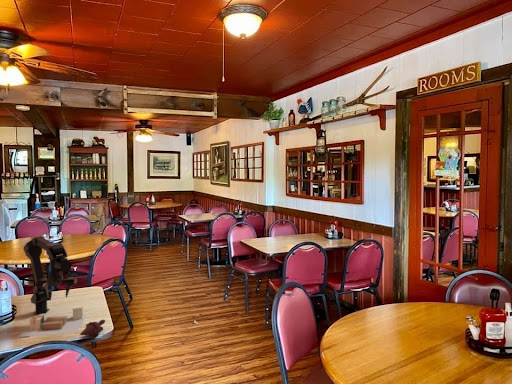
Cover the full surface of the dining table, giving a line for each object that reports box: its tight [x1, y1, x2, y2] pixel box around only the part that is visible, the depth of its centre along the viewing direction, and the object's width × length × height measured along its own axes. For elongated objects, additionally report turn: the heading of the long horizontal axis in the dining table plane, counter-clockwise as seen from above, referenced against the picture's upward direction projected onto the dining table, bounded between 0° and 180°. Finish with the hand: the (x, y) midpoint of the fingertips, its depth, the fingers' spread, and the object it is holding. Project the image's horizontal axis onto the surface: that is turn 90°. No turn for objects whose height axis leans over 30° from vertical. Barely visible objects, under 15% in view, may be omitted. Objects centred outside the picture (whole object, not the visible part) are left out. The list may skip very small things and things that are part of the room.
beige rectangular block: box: [72, 304, 84, 320], centre depth 203 cm, size 4×4×6 cm
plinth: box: [42, 315, 67, 330], centre depth 193 cm, size 9×9×3 cm
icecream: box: [79, 319, 106, 338], centre depth 183 cm, size 7×7×15 cm
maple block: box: [29, 314, 45, 330], centre depth 191 cm, size 5×5×5 cm
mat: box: [17, 314, 88, 339], centre depth 194 cm, size 22×26×1 cm
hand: (57, 297), depth 201 cm, fingers open, 9 cm apart
